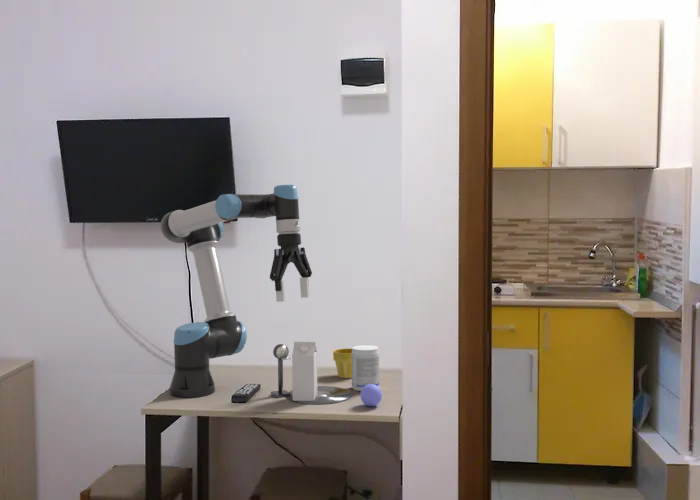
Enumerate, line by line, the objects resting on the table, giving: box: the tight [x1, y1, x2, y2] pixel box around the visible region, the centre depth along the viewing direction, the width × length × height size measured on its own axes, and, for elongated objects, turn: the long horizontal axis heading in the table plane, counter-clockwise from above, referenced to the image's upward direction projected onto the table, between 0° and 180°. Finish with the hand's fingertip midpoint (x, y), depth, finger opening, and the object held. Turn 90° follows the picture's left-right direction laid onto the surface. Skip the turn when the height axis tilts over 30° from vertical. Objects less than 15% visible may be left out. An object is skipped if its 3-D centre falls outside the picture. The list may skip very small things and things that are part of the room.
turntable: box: [286, 385, 353, 405], centre depth 245 cm, size 22×22×1 cm
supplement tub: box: [351, 344, 380, 392], centre depth 253 cm, size 10×10×15 cm
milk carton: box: [291, 341, 318, 402], centre depth 239 cm, size 7×7×19 cm
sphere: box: [359, 384, 383, 407], centre depth 232 cm, size 7×7×7 cm
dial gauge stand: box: [270, 343, 292, 399], centre depth 244 cm, size 5×6×18 cm
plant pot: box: [332, 347, 352, 379], centre depth 271 cm, size 10×10×10 cm
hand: (293, 299), depth 232 cm, fingers open, 13 cm apart
